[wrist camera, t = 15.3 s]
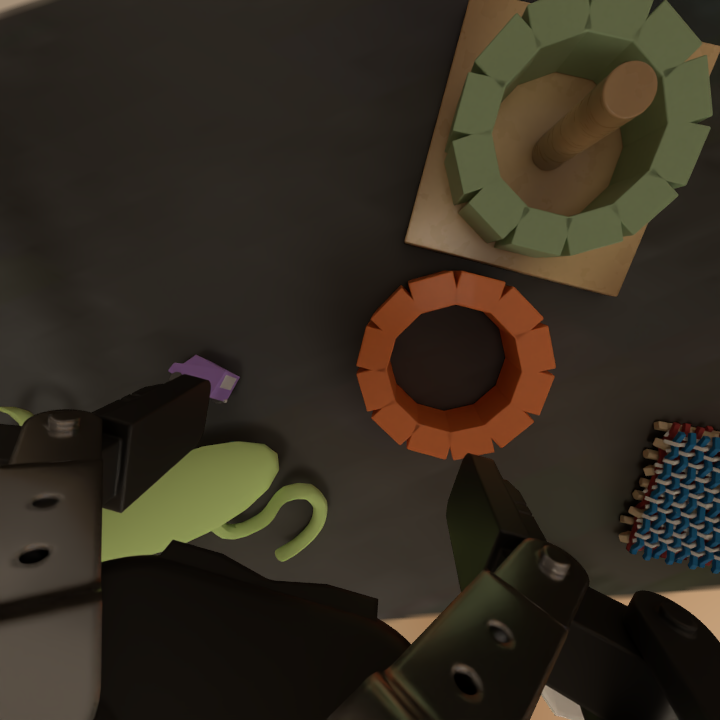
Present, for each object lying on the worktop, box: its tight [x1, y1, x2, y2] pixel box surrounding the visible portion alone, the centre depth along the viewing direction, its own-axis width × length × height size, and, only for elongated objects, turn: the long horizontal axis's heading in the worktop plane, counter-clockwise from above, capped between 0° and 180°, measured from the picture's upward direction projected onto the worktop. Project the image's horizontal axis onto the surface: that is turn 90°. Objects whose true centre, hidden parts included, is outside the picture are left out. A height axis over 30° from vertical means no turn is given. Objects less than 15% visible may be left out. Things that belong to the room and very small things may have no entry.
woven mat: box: [619, 421, 720, 574], centre depth 27 cm, size 10×11×2 cm
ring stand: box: [404, 0, 720, 297], centre depth 20 cm, size 14×14×10 cm
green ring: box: [444, 0, 713, 258], centre depth 21 cm, size 12×12×4 cm
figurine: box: [0, 355, 328, 562], centre depth 30 cm, size 18×27×6 cm
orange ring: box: [356, 270, 556, 460], centre depth 26 cm, size 12×12×4 cm
